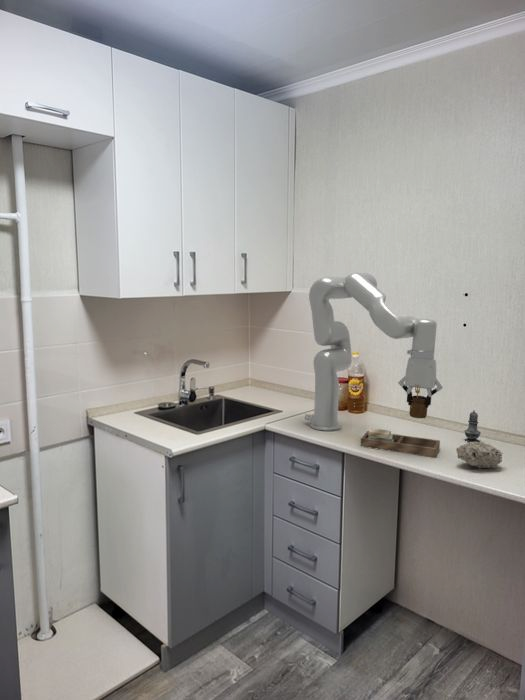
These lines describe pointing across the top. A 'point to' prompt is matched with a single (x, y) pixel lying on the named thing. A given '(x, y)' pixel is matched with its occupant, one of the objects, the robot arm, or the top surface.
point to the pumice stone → (480, 455)
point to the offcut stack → (380, 435)
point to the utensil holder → (418, 405)
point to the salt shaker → (472, 428)
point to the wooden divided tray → (405, 445)
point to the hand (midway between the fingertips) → (418, 405)
